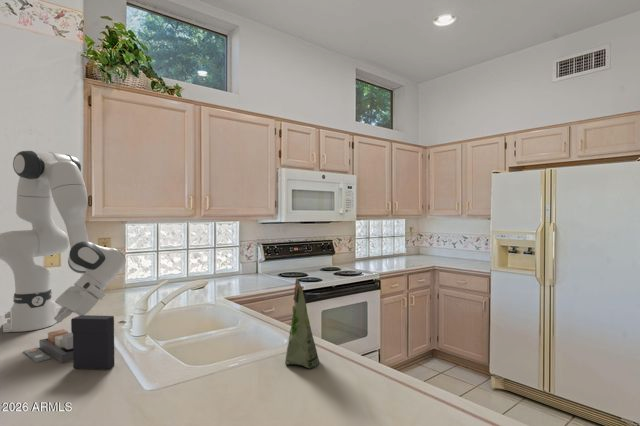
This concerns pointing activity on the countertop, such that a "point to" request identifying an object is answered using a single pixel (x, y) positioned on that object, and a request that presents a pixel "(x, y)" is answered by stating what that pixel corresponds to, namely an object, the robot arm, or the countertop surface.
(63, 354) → the keyguard frame
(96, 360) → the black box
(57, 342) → the cream key
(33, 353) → the card
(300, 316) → the green tall pyramid
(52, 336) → the terracotta key
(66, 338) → the grey key
